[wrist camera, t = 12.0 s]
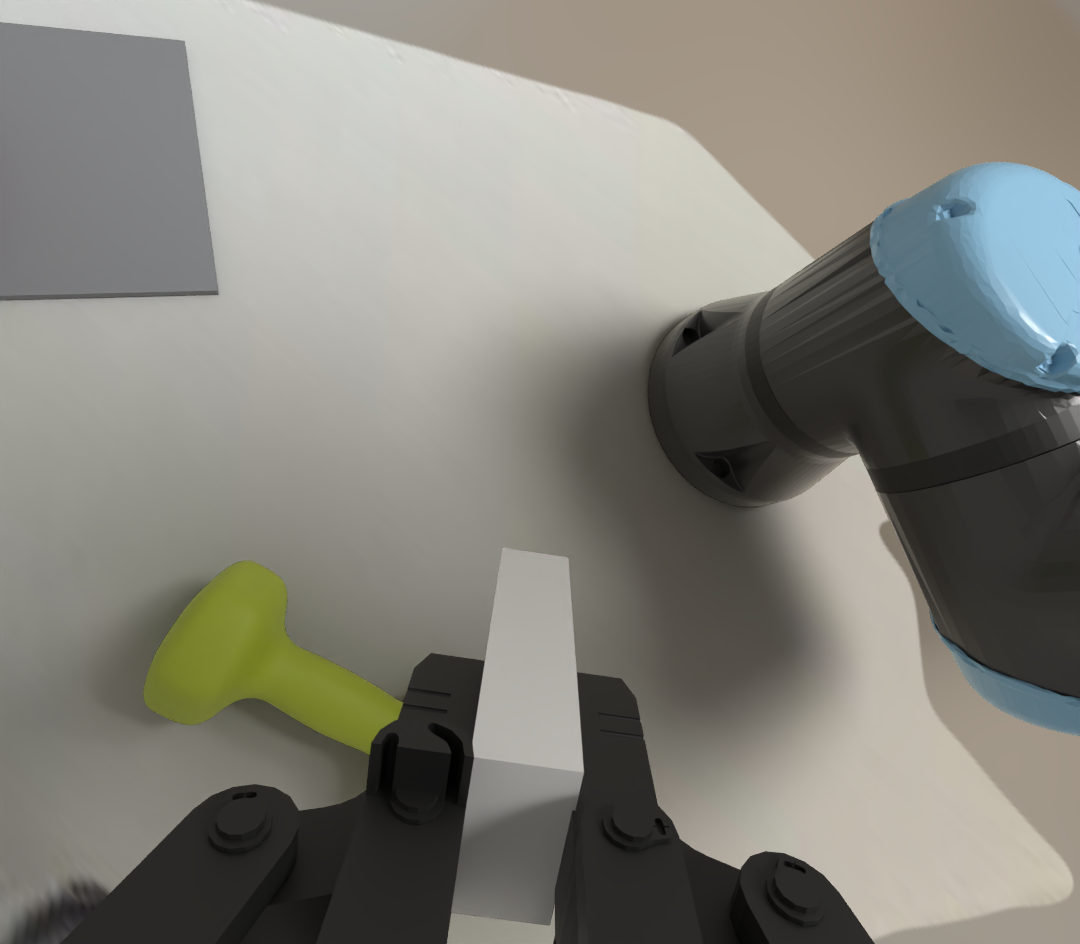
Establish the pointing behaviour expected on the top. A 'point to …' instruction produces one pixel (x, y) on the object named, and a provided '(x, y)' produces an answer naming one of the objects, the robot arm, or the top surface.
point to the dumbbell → (258, 664)
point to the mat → (99, 168)
